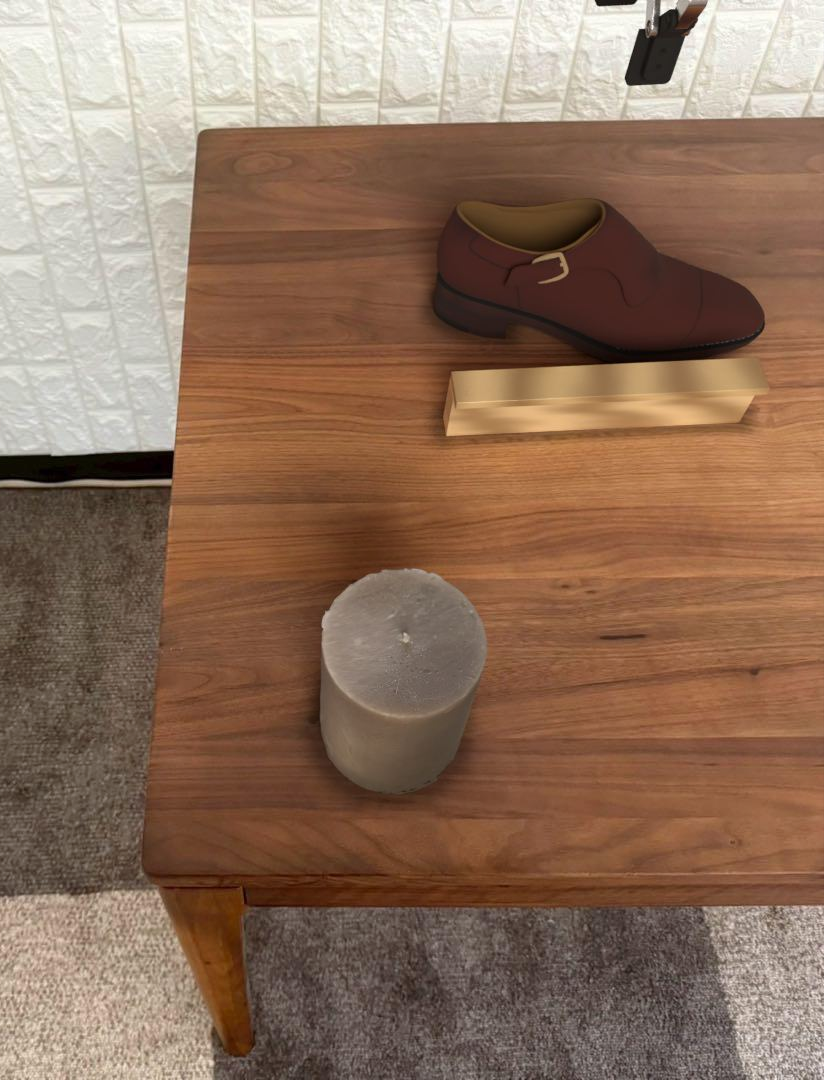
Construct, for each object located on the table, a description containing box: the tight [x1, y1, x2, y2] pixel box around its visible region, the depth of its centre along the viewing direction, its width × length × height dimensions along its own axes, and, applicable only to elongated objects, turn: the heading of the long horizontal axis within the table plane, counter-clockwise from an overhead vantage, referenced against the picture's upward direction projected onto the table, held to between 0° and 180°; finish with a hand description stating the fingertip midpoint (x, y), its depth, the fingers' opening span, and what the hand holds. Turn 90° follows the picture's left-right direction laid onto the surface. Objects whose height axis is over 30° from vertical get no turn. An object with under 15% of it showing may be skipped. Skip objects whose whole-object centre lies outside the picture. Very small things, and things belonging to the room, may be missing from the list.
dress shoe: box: [433, 197, 766, 364], centre depth 84 cm, size 9×28×12 cm, turn 80°
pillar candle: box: [319, 567, 488, 795], centre depth 63 cm, size 10×10×15 cm
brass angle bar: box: [442, 356, 771, 437], centre depth 80 cm, size 24×3×6 cm, turn 92°
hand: (629, 41), depth 75 cm, fingers open, 9 cm apart
